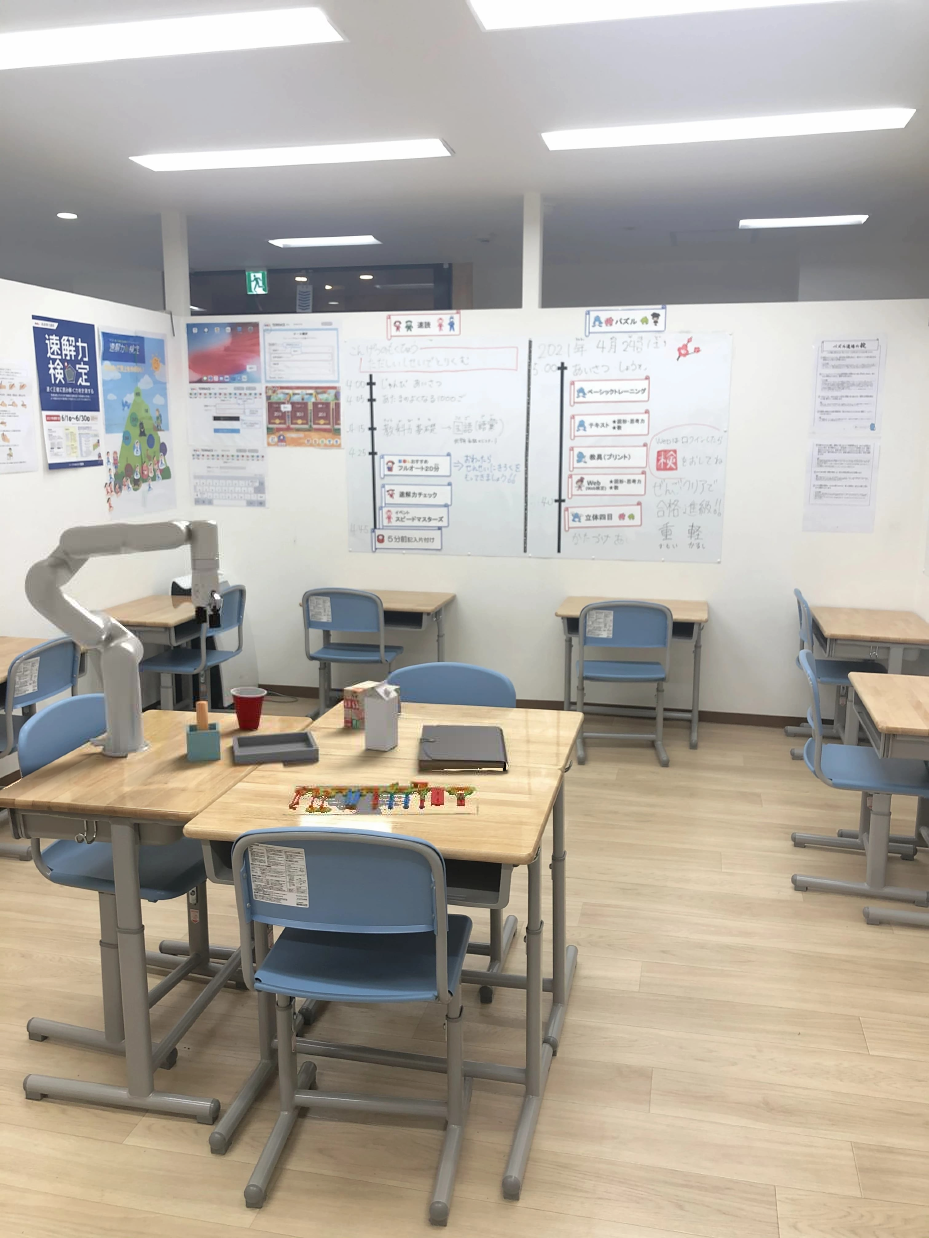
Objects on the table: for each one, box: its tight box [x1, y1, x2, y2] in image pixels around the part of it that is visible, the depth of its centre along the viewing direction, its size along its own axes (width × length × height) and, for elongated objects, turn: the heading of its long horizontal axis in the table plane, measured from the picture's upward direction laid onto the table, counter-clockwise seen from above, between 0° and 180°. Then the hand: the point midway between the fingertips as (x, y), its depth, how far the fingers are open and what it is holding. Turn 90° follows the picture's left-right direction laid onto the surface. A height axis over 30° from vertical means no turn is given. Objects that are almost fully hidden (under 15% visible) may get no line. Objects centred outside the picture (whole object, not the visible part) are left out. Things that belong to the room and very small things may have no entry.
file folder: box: [417, 724, 509, 771], centre depth 259 cm, size 33×4×24 cm
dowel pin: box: [195, 700, 209, 731], centre depth 250 cm, size 3×3×15 cm
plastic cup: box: [230, 686, 267, 731], centre depth 281 cm, size 11×11×12 cm
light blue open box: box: [185, 721, 222, 763], centre depth 251 cm, size 9×9×9 cm
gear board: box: [289, 780, 477, 814], centre depth 222 cm, size 45×2×19 cm
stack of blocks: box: [343, 680, 402, 730], centre depth 291 cm, size 21×6×12 cm, turn 147°
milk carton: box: [364, 679, 399, 752], centre depth 262 cm, size 7×7×19 cm
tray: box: [231, 730, 320, 766], centre depth 256 cm, size 22×18×4 cm
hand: (208, 625), depth 258 cm, fingers open, 9 cm apart
